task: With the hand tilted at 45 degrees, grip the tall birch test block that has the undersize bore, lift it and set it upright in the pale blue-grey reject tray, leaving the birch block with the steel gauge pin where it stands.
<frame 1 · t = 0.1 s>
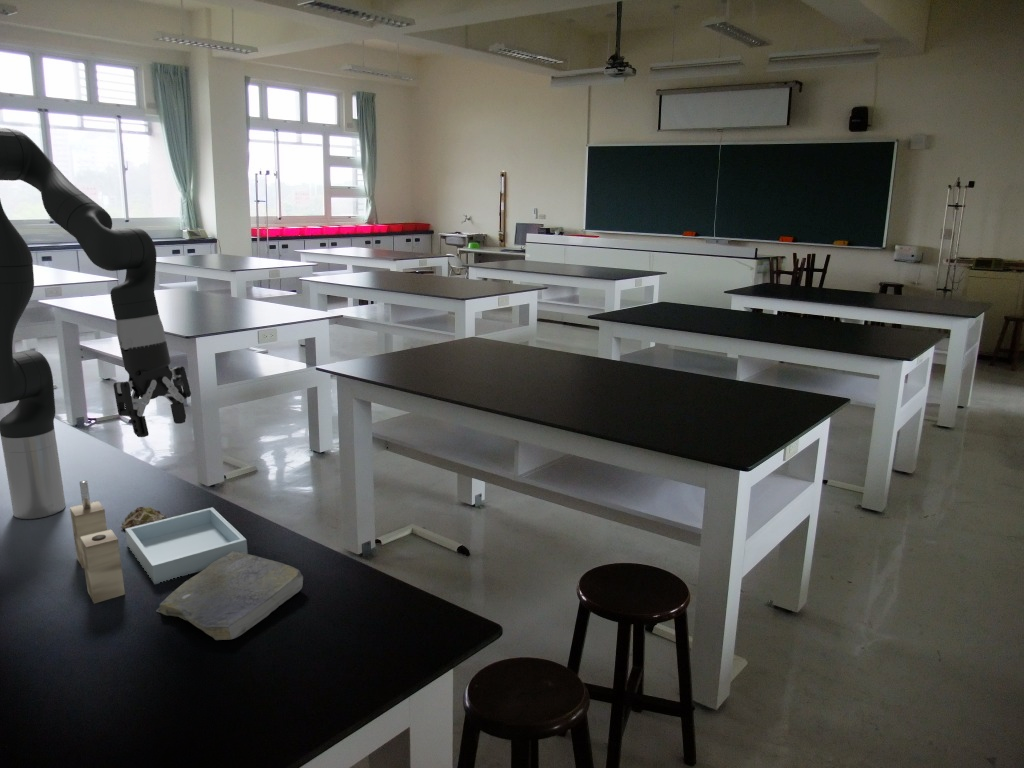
hand: (162, 429, 137), 22 cm above the table, tool pointing down, fingers open, 8 cm apart
fossil: (229, 604, 123), on the table
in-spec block: (94, 559, 136), on the table
mineral rock: (145, 528, 150), on the table
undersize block: (106, 593, 125), on the table
reject tray: (186, 551, 139), on the table
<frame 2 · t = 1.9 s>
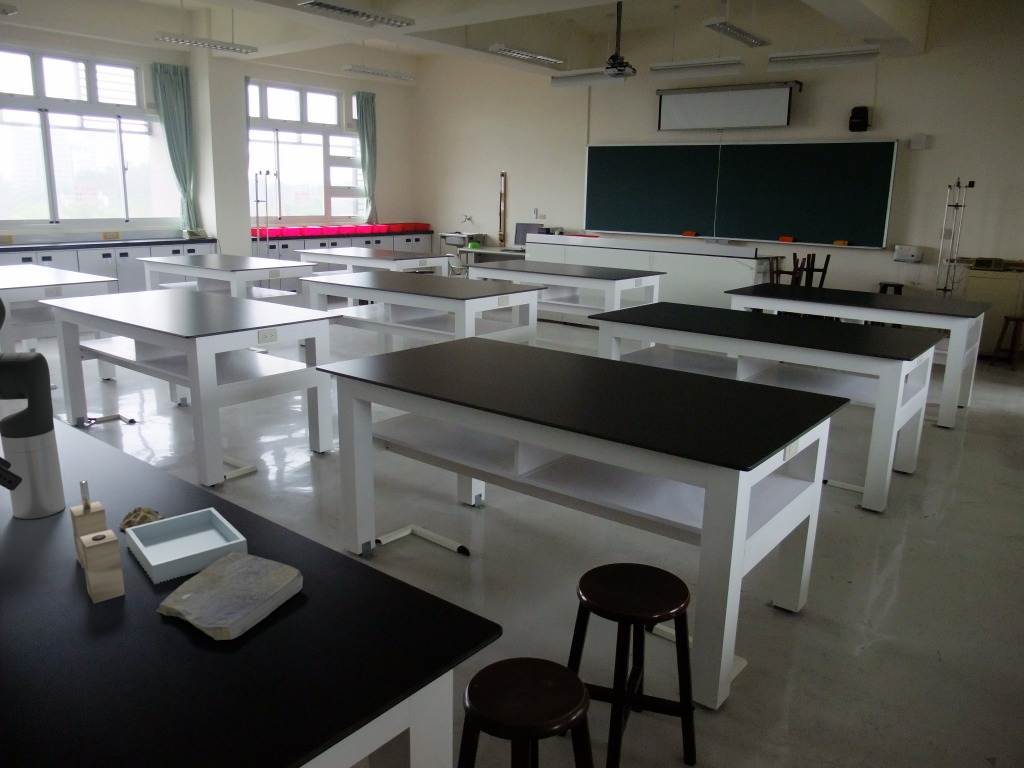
hand: (12, 477, 113), 23 cm above the table, tool tilted 45°, fingers open, 8 cm apart
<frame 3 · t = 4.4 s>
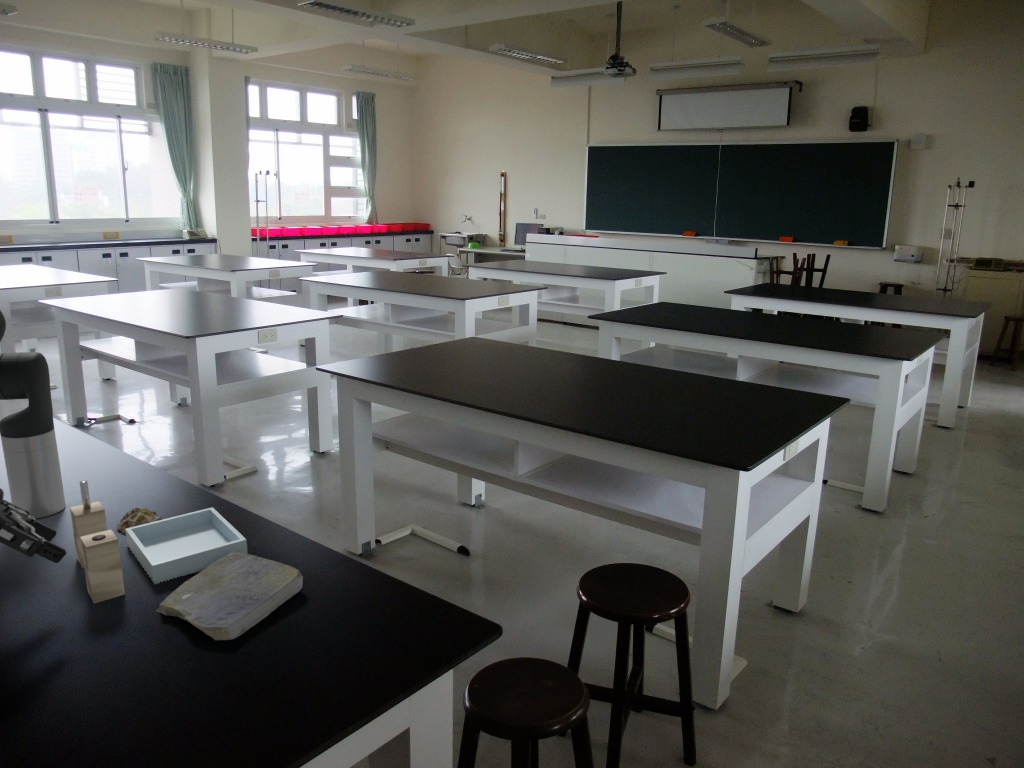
hand: (57, 547, 119), 10 cm above the table, tool tilted 45°, fingers open, 8 cm apart
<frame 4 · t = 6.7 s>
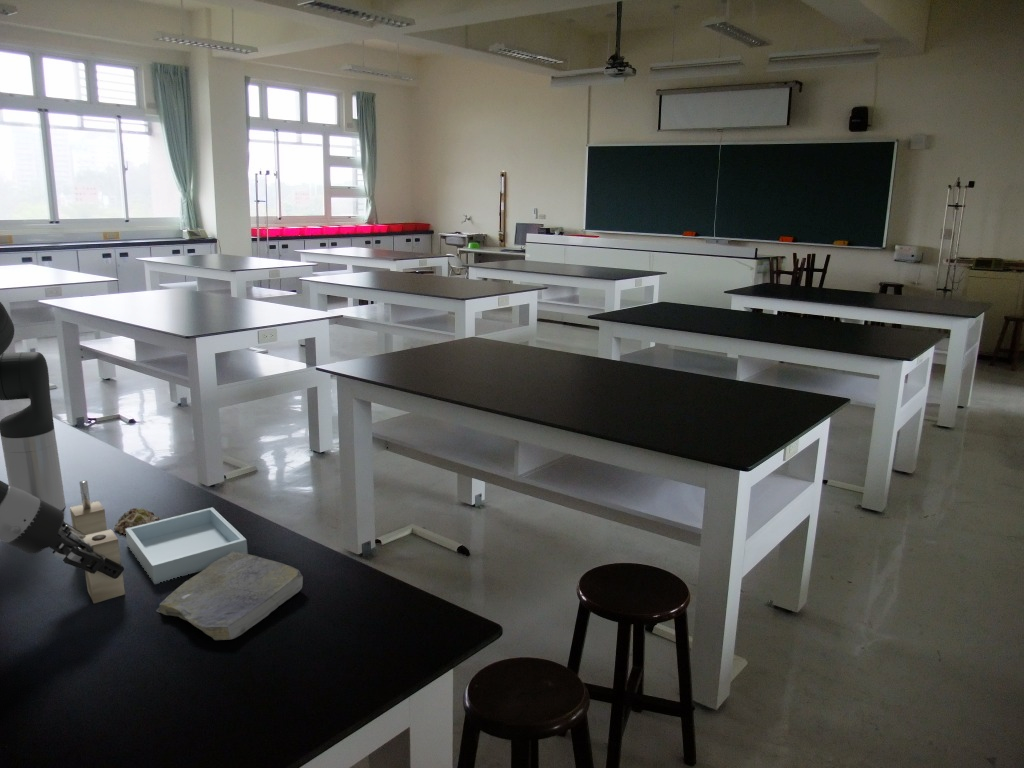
hand: (115, 566, 125), 4 cm above the table, tool tilted 45°, fingers closed on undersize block, 4 cm apart
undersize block: (106, 592, 125), on the table, touching gripper
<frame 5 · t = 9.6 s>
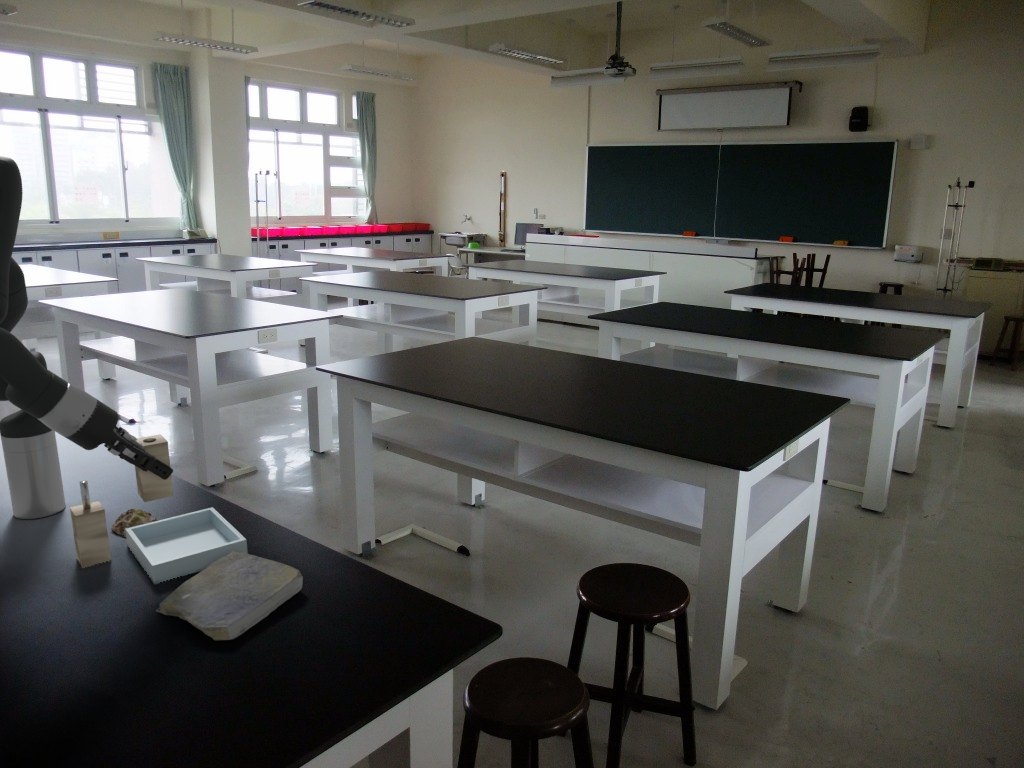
hand: (164, 470, 131), 18 cm above the table, tool tilted 45°, fingers closed on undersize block, 4 cm apart
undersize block: (155, 494, 131), point 13 cm above the table, touching gripper
when the fingers open (6 cm above the table, at t = 12.7 s): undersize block drops 1 cm, resting on reject tray.
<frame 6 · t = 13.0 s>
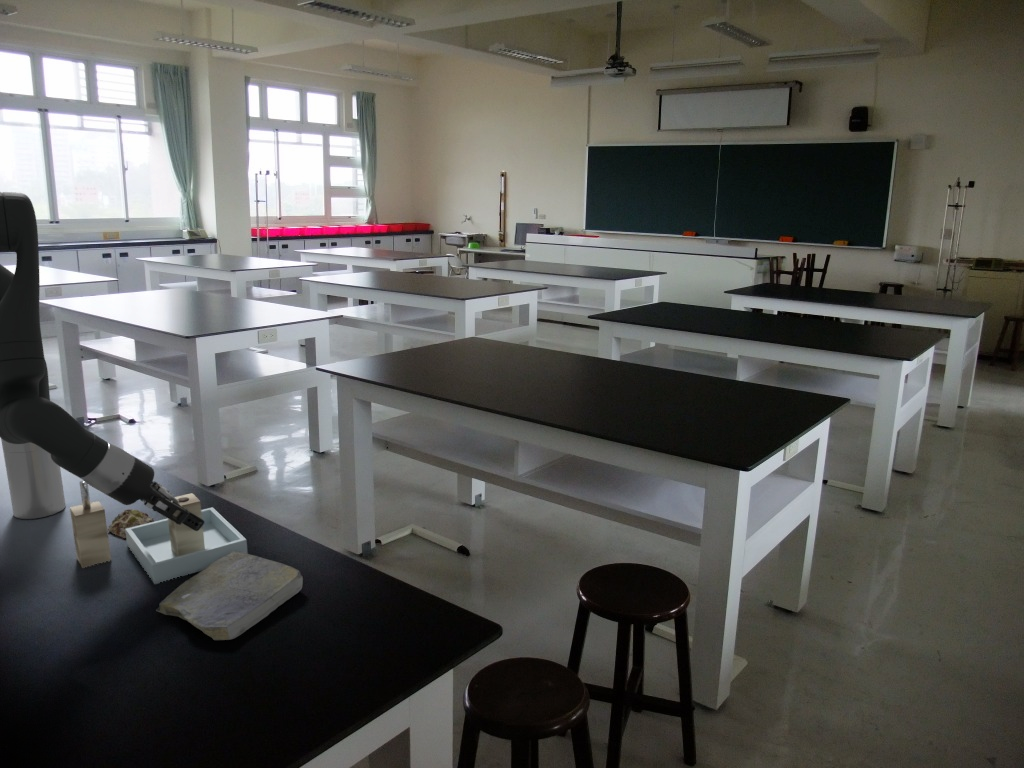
hand: (193, 518, 138), 7 cm above the table, tool tilted 45°, fingers open, 7 cm apart
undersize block: (188, 550, 139), point 1 cm above the table, touching reject tray
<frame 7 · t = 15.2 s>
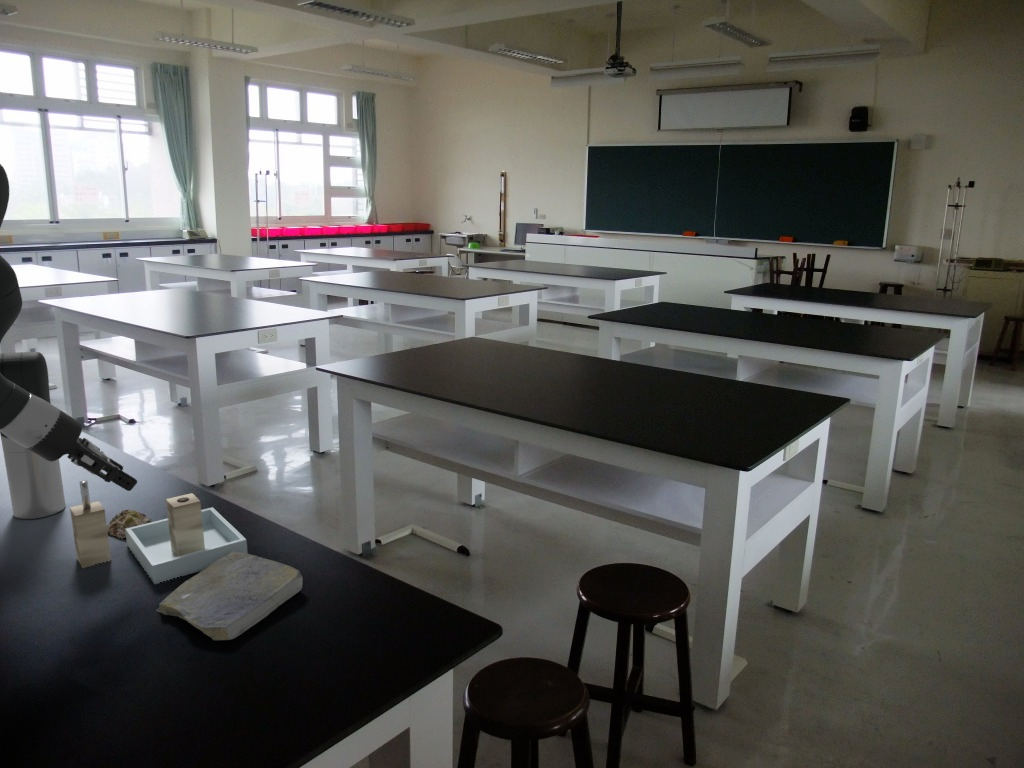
hand: (126, 478, 129), 17 cm above the table, tool tilted 45°, fingers open, 8 cm apart
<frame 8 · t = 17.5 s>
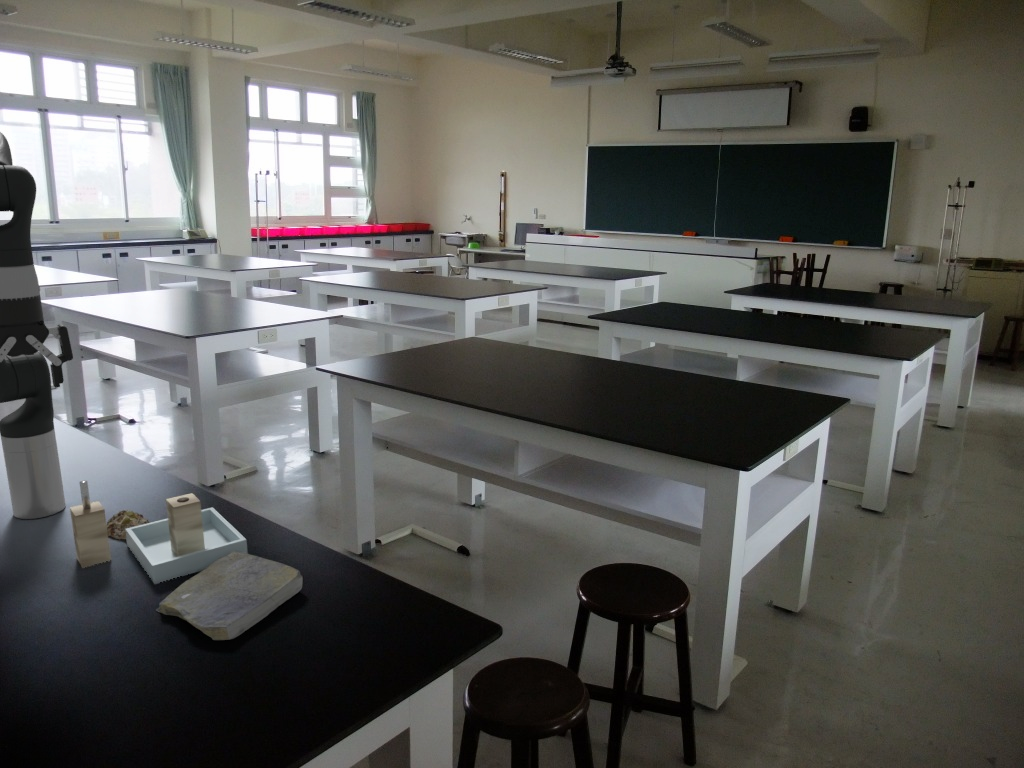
hand: (27, 390, 126), 32 cm above the table, tool pointing down, fingers open, 8 cm apart
at the end: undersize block inside the target area on the reject tray (1.1 cm from its centre), point 0.6 cm above the reject tray's base; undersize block tilted 0°; the gripper is holding nothing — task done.
